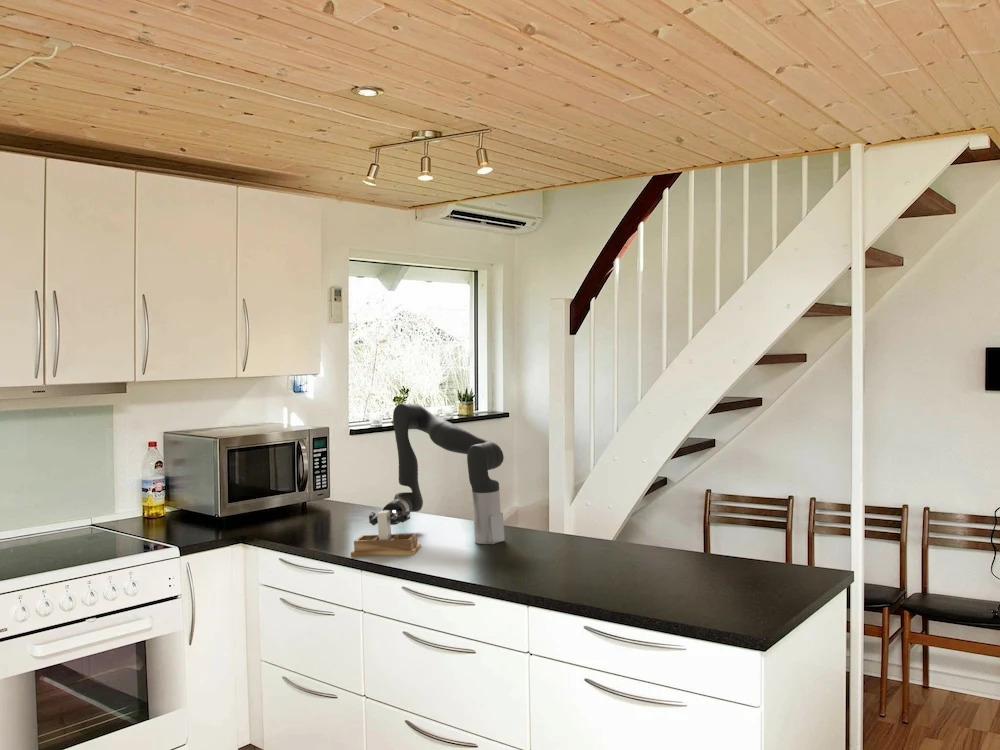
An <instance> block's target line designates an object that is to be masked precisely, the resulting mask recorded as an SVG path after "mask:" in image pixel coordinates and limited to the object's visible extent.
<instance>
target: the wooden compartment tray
mask: <svg viewBox="0 0 1000 750" xmlns="http://www.w3.org/2000/svg"><path fill="white" fill-rule="evenodd" d="M421 548H422V543H418V534H417V533H403V534H402V533H396V534H395V533H393V534H392V533H391V539H390V540H379V534H362V535H360V536H359V537H357V538H356V539H355V540H353V550H351V552H350V557H370V556H371V557H374V556H375V557H376V556H378V557H379V556H414V555H415V554H416V553H417V552H418V551H419V550H420V549H421Z"/></svg>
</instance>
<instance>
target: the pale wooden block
mask: <svg viewBox="0 0 1000 750" xmlns="http://www.w3.org/2000/svg"><path fill="white" fill-rule="evenodd" d="M377 515H378V518H377V520H378V523H377V529H378V530H377V531H378V532H377V533H378V535H379V540H390V539H391V534H392V525H391V524H390V510H388V511H382V510H380V511H378V512H377Z"/></svg>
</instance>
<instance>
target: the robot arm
mask: <svg viewBox="0 0 1000 750" xmlns="http://www.w3.org/2000/svg"><path fill="white" fill-rule="evenodd" d="M392 420H393V421H392V422H393V430H394V436H395V442H396V448H397V449H396V450H397V455H398V456H397V458H398V484H399V485H400V486H404V487H409V489H410V490H411V492H398V493H396V494H394V495H395V496H394V497H393V500H392V501H390V502H388V503H387V504H386V505H385V506H384V507H383V509H382V510H381V511H388V510H390V524H391V526H396V525H399V524H401V523H402V524H403V523H405V522H407V521H409V520H411V513H414V512H415V513H417V512H420V511H421V510H422V508H423V505H424V499H423V496H422V492H421V489H420V485H419V463H418V458H417V456H416V453H415V451H414V449H413V447H412V444H411V442H410V438H409V430H410V429H411V430H418V431H421V432H424V433H426V434H427V435H429V438H430V440H431V441H432V443H434V444H435V445H437V446H439V448H442V449H444V450H445V451H449V452H453V453H457V454H463V455H467V456H466V459H467V460H466V462H467V463H466V464H467V471H468V479H469V484H470V486H471V495H472V510H473V511H472V512H473V513H472V514H473V528H474V529H473V531H474V542H475V544H479V545H494V544H498V543H501V542H504V541H505V529H504V528H505V526H504V525H505V523H504V512H502V511H501V494H500V483H499V481H498V480H496V479H492V478H490V476H489V471H491V470H495V469H497V468H499V467H500V466H501V465H502V464H503V462H504V459H505V458H504V457H505V456H504V452H503V450H502V449H501V447H500V446H499V445H498V444H497V443H495V442H493V441H491V440H488V439H486V438H482V437H480V436H477V435H475V434H473V433H471V432H469V431H467V430H466V429H463V428H461V427H459V426H458V425H456V424H454V423H452V422H451V421H448V420H446V419H444V418H441V417H439V416H437V415H434V414H433V413H431V412H430V411H429V410H428V409H426V408H425V407H424V406H421V405H420V404H416V403H406V402H402V403H401V402H400V403H399V404H397V405H396V406H395V407H394V409H393V415H392ZM368 521H369V524H371V525H372V526H376V525H378V515H377V514H376V512H372V511H371V512H370V513H369V515H368Z"/></svg>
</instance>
